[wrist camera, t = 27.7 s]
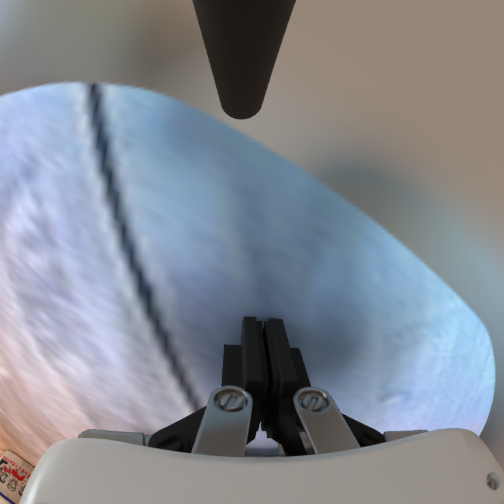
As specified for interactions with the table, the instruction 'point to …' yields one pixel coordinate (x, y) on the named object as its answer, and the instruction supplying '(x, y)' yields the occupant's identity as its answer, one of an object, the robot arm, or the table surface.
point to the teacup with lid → (13, 477)
